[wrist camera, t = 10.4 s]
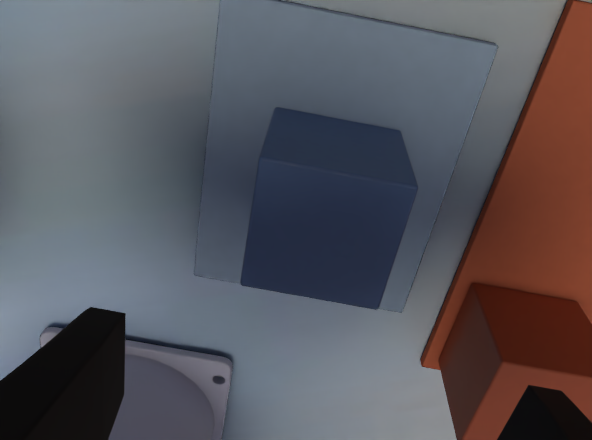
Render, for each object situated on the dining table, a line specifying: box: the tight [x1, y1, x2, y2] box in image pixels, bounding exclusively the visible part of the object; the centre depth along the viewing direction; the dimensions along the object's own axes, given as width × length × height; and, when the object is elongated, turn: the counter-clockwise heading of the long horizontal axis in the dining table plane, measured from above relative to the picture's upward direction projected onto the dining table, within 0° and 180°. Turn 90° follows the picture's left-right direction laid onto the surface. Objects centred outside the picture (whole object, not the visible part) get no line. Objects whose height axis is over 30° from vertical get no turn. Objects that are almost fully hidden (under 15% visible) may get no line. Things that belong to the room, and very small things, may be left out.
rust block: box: [438, 283, 592, 440], centre depth 18 cm, size 4×4×4 cm
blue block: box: [240, 107, 418, 310], centre depth 15 cm, size 4×4×4 cm
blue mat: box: [194, 0, 498, 313], centre depth 17 cm, size 10×8×1 cm
